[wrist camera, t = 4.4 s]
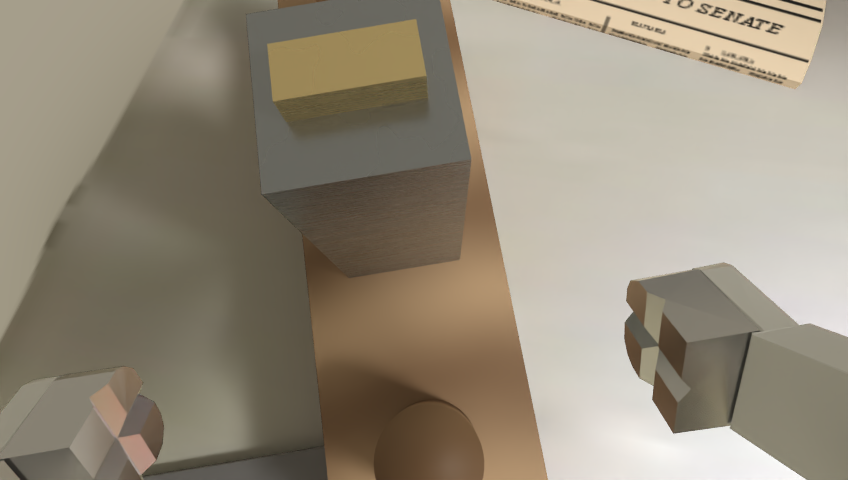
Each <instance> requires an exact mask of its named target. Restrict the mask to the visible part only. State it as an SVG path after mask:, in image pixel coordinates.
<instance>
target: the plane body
mask: <svg viewBox="0 0 848 480" xmlns="http://www.w3.org/2000/svg"><path fill="white" fill-rule="evenodd" d="M322 1H328V0H278V9H280V8H286V7H292V6H298V5H304V4H310V3H316V2H322ZM440 3H441V8H442V13H443V18H444V23H445V28H446V33H447V38H448V43H449V48H450V53H451V58H452V63H453V68H454V73H455V78H456V83H457V88H458V93H459V98H460V103H461V109H462V114H463V119H464V124H465V129H466V134H467V139H468V144H469V149H470V154H471V159H472V160H471V169H470V177H469V186H468V195H467V203H466V212H465V221H464V229H463V238H462V247H461V255H460V260H456V261H450V262H444V263H438V264H432V265H426V266H420V267H414V268H408V269H402V270H396V271H390V272H384V273H378V274H372V275H366V276H360V277H354V278H348V277H347V276H346V275H345V274H344V273H343V272H342V271H341V270H340V269H339V268H338V267H337V266H336V265H335V264H334V263H333V262H332V261H331V260H329V259H328V258H327V257H326V256H325V255H324V254H323V253H322V252H321V251H320V250H319V249H318V248H317V247H316V246H315V245H314V244H313V243H312V242H311V241H310V240H309V239H308V238H306V237H305V236H304V235H303V234H302V237H303V247H304V257H305V266H306V276H307V285H308V295H309V304H310V314H311V323H312V333H313V342H314V352H315V361H316V371H317V380H318V390H319V399H320V409H321V418H322V428H323V438H324V447H325V457H326V466H327V476H328V480H548V478H547V473H546V468H545V463H544V458H543V453H542V448H541V444H540V439H539V434H538V429H537V424H536V419H535V414H534V409H533V404H532V399H531V395H530V390H529V385H528V380H527V375H526V370H525V365H524V360H523V355H522V350H521V346H520V341H519V336H518V331H517V326H516V321H515V316H514V311H513V306H512V301H511V297H510V292H509V287H508V282H507V277H506V272H505V267H504V262H503V257H502V252H501V248H500V243H499V238H498V233H497V228H496V223H495V218H494V213H493V208H492V203H491V199H490V194H489V189H488V184H487V179H486V174H485V169H484V164H483V159H482V154H481V150H480V145H479V140H478V135H477V130H476V125H475V120H474V115H473V110H472V105H471V101H470V96H469V91H468V86H467V81H466V76H465V71H464V66H463V61H462V56H461V52H460V47H459V42H458V37H457V32H456V27H455V22H454V17H453V12H452V7H451V3H450V0H440Z"/></svg>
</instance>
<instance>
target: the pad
mask: <svg viewBox="0 0 848 480" xmlns="http://www.w3.org/2000/svg"><path fill="white" fill-rule="evenodd" d="M142 477H143V480H328V476H327V466H326V457H325V447H324V446H322V447H316V448H310V449H304V450H298V451H292V452H286V453H280V454H274V455H268V456H262V457H256V458H250V459H244V460H238V461H232V462H226V463H220V464H214V465H208V466H202V467H196V468H190V469H184V470H178V471H172V472H166V473H160V474H154V475H148V476H142Z"/></svg>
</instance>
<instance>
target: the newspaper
mask: <svg viewBox="0 0 848 480" xmlns="http://www.w3.org/2000/svg"><path fill="white" fill-rule="evenodd" d="M494 1H497V2H500V3H504V4H507V5H511V6H514V7H517V8H521V9H524V10H528V11H531V12H534V13H538V14H541V15H545V16H548V17H551V18H555V19H558V20H562V21H565V22H568V23H572V24H575V25H579V26H582V27H585V28H589V29H592V30H596V31H599V32H602V33H606V34H609V35H613V36H616V37H619V38H623V39H626V40H630V41H633V42H636V43H640V44H643V45H647V46H650V47H653V48H657V49H660V50H664V51H667V52H670V53H674V54H677V55H681V56H684V57H687V58H691V59H694V60H698V61H701V62H704V63H708V64H711V65H715V66H718V67H721V68H725V69H728V70H732V71H735V72H738V73H742V74H745V75H749V76H752V77H755V78H759V79H762V80H766V81H769V82H772V83H776V84H779V85H783V86H786V87H789V88H793V89H796V88H797V87H798V86H799V85H800V84H801V83H802V81H803V79H804V76H805V74H806V72H807V69H808V67H809V65H810V62H811V60H812V57H813V53H814V50H815V47H816V44H817V41H818V38H819V35H820V31H821V28H822V25H823V19H824V12H825V6H826V0H494Z"/></svg>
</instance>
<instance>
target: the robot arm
mask: <svg viewBox="0 0 848 480" xmlns="http://www.w3.org/2000/svg"><path fill="white" fill-rule="evenodd" d="M626 301H627V303H628V304H629V306H630V307H631V309H632V310H633V311H634V312H633V313H632V314H631V315H630V317H629V318H628V319H627V320H626V322H625V335H624V339H625V344H626V349H627V354H628V356H629V359H630V361H631V364H632V366H633V368H634V370H635V371H636V373H637V375H638V377H639V378H640V379H642V380H644V381H645V382H647V383H649V384H651V385H653V386H654V388H653V398H652V400H653V401H654V403H655V404H656V406H657V408H658V409H659V411H660V413H661V414H662V416H663V417H664V419H665V421H666V422H667V424H668V425H669V427H670V429H671V430H672V432H673V434H674V433H681V432H688V431H695V430H702V429H709V428H716V427H723V426H730V425H731V426H730V429H732V430H733V431H735V432H736V433H738V434H739V435H741V436H742V437H744V438H745V439H747V440H748V441H750V442H751V443H753V444H754V445H756V446H757V447H759V448H760V449H762V450H763V451H765V452H766V453H768V454H769V455H771V456H772V457H774V458H775V459H777V460H778V461H779V462H781V463H782V464H784V465H785V466H787V467H788V468H790V469H791V470H793V471H794V472H796V473H797V474H799V475H800V476H802V477H803V478H805V479H806V480H848V337H846V336H843V335H840V334H838V333H835V332H832V331H829V330H826V329H824V328H821V327H818V326H815V325H813V324H804V325H799V324H797V323H796V322H795V321H794V320H793V319H792V318H791V317H790V316H789V315H787V314H786V313H785V312H784V311H783V310H782V309H781V308H780V307H778V306H777V305H776V304H775V303H774V302H773V301H772V300H771V299H769V298H768V297H767V296H766V295H765V294H764V293H763V292H762V291H761V290H759V289H758V288H757V287H756V286H755V285H754V284H753V283H752V282H750V281H749V280H748V279H747V278H746V277H745V276H744V275H743V274H741V273H740V272H739V271H738V270H737V269H736V268H735V267H734V266H732V265H730V264H727V263H719V264H714V265H709V266H704V267H699V268H693V269H692V270H687V271H682V272H676V273H670V274H665V275H659V276H653V277H647V278H642V279H636V280H631V281H630V283H629V286H628V288H627V298H626ZM142 385H143V382H142V380H141V379H140V377H139V376H138V374H137V373H136V371H135V370H134V368H130V367H126V366H121V367H114V368H107V369H100V370H94V371H87V372H80V373H73V374H66V375H63V376H55V377H49V378H43V379H36V380H33V381H31V382H29V383H26V384H24V385H22V386H21V388H20V389H19V390H18V391H17V393H16V394H15V395H14V396H13V398H12V399H11V400H10V401H9V403H8V404H7V405H6V406H5V408H4V409H3V410H2V412H1V413H0V480H143V477H142V475H141V474H142V473H143V472H144V471H146V470H147V469H148V468H149V467H150V466H151V465H152V464H153V463H154V462H155V461H156V460H157V457H158V454H159V452H160V449H161V447H162V444H163V430H164V425H163V421H162V417H161V413H160V411H159V409H158V407H157V406H156V404H155V402H153V401H152V400H150V399H148V398H146V397H144V396H142V395H141V394H140V391H141V388H142Z"/></svg>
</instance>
